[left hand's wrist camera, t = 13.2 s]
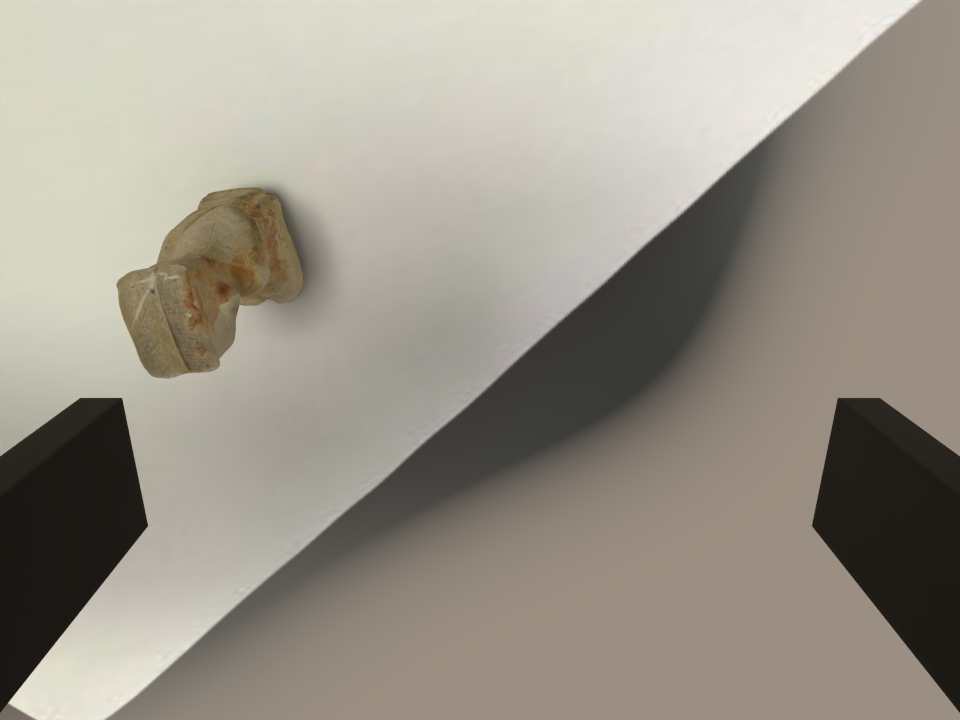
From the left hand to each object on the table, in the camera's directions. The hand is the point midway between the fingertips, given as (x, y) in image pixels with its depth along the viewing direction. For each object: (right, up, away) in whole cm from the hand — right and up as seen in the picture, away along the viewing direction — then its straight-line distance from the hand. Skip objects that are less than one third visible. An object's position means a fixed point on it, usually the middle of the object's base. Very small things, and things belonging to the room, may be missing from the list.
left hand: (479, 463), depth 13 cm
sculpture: (-14, +9, +30) cm, 34 cm away
